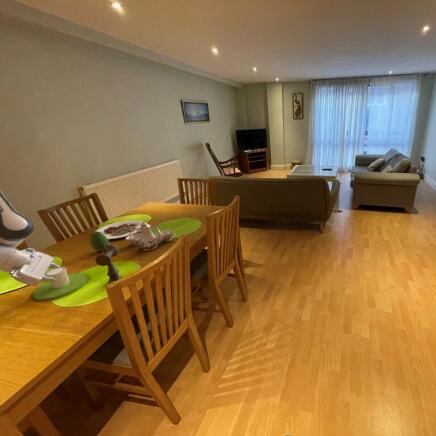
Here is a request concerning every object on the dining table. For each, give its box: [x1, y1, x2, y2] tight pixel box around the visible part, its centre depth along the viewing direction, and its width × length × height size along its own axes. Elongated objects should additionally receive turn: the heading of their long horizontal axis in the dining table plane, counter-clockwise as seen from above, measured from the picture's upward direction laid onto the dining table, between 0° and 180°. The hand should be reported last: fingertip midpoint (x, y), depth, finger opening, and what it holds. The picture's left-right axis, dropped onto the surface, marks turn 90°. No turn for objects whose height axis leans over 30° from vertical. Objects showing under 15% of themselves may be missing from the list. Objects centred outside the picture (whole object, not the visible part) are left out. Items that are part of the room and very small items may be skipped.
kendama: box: [95, 243, 123, 284], centre depth 107 cm, size 6×10×20 cm, turn 17°
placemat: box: [32, 272, 88, 301], centre depth 107 cm, size 18×18×1 cm
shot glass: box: [44, 266, 69, 288], centre depth 106 cm, size 7×7×7 cm
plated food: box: [94, 219, 147, 240], centre depth 161 cm, size 30×30×3 cm
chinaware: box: [123, 221, 177, 252], centre depth 141 cm, size 28×17×17 cm, turn 113°
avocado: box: [90, 230, 110, 252], centre depth 135 cm, size 8×8×12 cm
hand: (58, 275), depth 105 cm, fingers open, 8 cm apart
